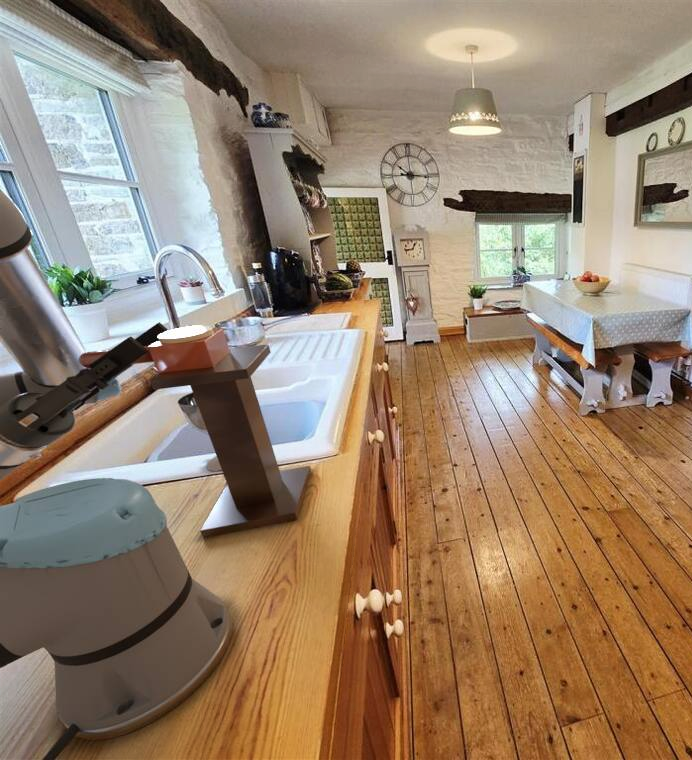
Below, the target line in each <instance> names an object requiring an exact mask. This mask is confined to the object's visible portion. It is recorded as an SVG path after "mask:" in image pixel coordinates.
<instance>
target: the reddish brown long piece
mask: <svg viewBox="0 0 692 760" xmlns="http://www.w3.org/2000/svg"><path fill="white" fill-rule="evenodd" d="M158 340H159V341H157V342H155V343H154V344H152V345H150V346H143V347H144V348H146V349H147V350H148V351H149V352H148V353H146V354H145V355H143V356H142V357H140V358H139V359H138V360H136V361H135V362H133V363H132V364H134V365H136V364H147V363H154V366H155V368H156V371H157V374H159V373H166V372H175V371H184V370H193V369H202V368H211V367H214V366H215V365H216V364H218V363H219V362H220V361H221V360H222V359H223V358H224V357H225V356H227V355H228V354H229V353H230V350H229V348H230V346H229V344H228V341H227V337H226V335H225V332H224V328H213V326H211V325H192V326H185V327H179V328H175V329H170V330H169V331H167V332H164V333H162V334H160V335H158ZM110 350H111V349H102V350H101V349H100V350H92V351H91V350H90V351H87V352H85V353H83V354H82V355H81V356H80V357H79V363H80V364H81V365H82V366H84V367H86V368H91V367H90V366H89V365H90V364H91V363H93V362H94V361H96V360H97V359H99V358H100V357H101V356H103V355H104V354H106V353H107V352H109V351H110Z"/></svg>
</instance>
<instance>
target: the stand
mask: <svg viewBox="0 0 692 760" xmlns="http://www.w3.org/2000/svg"><path fill="white" fill-rule="evenodd" d="M229 350H230V353H229V354H228V355H227V356H225V357H224V358H223V359H222V360H221V361H220V362H219V363H218V364H216V365H215V366H214V367H211V368H202V369H193V370H184V371H175V372H166V373H157V374H156V375H154V376H153V377H152V378H150V379H149V382H150V385H151V388H152V390H154V391H155V390H163V389H171V388H180V387H189V386H190V389H191V391H192V393H193V394H194V397H195V399H196V402H197V405H198V407H199V410H200V413H201V415H202V418H203V421H204V423H205V426H206V429H207V431H208V434H209V435H208V434H207V435H208V437H209V439H210V442H211V445H212V447H213V450H214V453H215V457H216V456H217V458H218V461H219V464H220V466H221V469H222V470H221V472H222V474H223V477H224V479H225V482H226V486H225V488H224V489H223V491H222V493H221V495H220V496H219V497H218V499H217V501H216V502H215V505H214V506H213V508H212V510H211V511H210V513H209V515H208V516H207V518H206V519H205V521H204V523H203V525H202V526H201V529H200V531H199V532H200V534H201V536H202V538H203V539H204V538H209V537H214V536H220V535H225V534H229V533H235V532H241V531H245V530H250V529H257V528H260V527H266V526H271V525H276V524H282V523H287V522H292V521H297V520H298V518H299V515H300V512H301V508H302V506H303V501H304V498H305V495H306V491H307V488H308V484H309V482H310V479H311V476H312V469H311V465H305V466H300V467H293V468H288V469H282V470H280V467H279V465H278V464H279V463H278V461H277V458H276V455H275V451H274V447H273V445H272V441H271V439H270V435H269V432H268V428H267V426H266V422H265V418H264V416H263V415H264V414H263V412H262V409H261V406H260V402H259V400H258V396H257V392H256V389H255V387H254V386H255V385H254V383H253V379H252V376H253V374H254V373H255V372H256V371H257V370H258V369H259V368H260V366H261V365H262V364H263V362H265V360H266V359H267V358H268V356H269V355H271V349H270V345H269V344H268V343H267V344H257V345H247V346H239V347H229Z"/></svg>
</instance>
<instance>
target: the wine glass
mask: <svg viewBox="0 0 692 760" xmlns="http://www.w3.org/2000/svg"><path fill="white" fill-rule="evenodd" d="M177 405H178V407H179V410H180V412H181V414H182V416H183V418H184V419H185V421H186V422H187V423H188V424H189V425H190V426H191V428H192V429H194V430H196V431H198V432H200V433H203V434H206V435H208V436H209V434H208V431H207V429H206V426H205V423H204V421H203V418H202V415H201V413H200V410H199V407H198V405H197V402H196V399H195V397H194V394H193V392H190V393H187V394H185V395H184V396H182V397H180V398H179V399H178V400H177ZM205 468H206V470H208V471H211V472H218V471H219V472H220V471H222V469H221V466H220V464H219V461H218V458H217V456H216V455H215V456H214V457H213V458H212V459H210V460H209V461H207V463H206V465H205Z"/></svg>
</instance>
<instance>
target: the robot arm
mask: <svg viewBox="0 0 692 760" xmlns="http://www.w3.org/2000/svg"><path fill="white" fill-rule="evenodd" d="M33 237H34V236H33V231H32V229H31V227H30V226H29V224H28V222H27V220H26V218H25V216H24V214H23V213H22V211H21V210H20V209H19V207H18V206H17V205H16V203H15V202H14V201H13V199H12V198H11V197H10V196H9V195H8V194H7V193H6V192H5V191H4V190H3V189H2V188H1V187H0V343H1V345H2V346H3V347H4V349H6V351H7V352H8V353H9V355H10V356H11V357H12V359H13V360H14V361H15V362H16V363H17V364H18V366H19V367H20V369H21V370H22V371H16V372H11V373H5V374H0V481H2V480H4V478H6V477H7V476H8V475H10V474H11V473H13V472H14V471H15V470H17V469H18V468H20V467H21V466H22V465H24V464H25V463H26V462H28V460H30V459H32V460H40V458H42V454H41V452H42V451H43V450H44V449H46V448H47V447H49V446H50V445H52V444H54V443H56V442H57V441H58V440H59V439H61V438H62V437H64V436H66V435H67V434H68V433H70V431H72V430H73V429H74V427H75V426H76V425H75V424H76V415H75V414H74V412H75V411H78V410H79V409H81V408H82V407H83V406H85V405H88V404H89V405H90V404H96V403H98V402H100V401H103V400H108V399H111V398H114V397H116V396H118V395H120V394H121V392H122V386H121V382H120V380H119V378H118V377H119V376H120V375H122V374H123V373H125V372H126V371H127V370H129V369H130V368H132V367H133V366H135V364H132V363H133V362H135V361H136V360H138V359H139V358H140V357H142V356H143V355H145V354H146V353H148V352H149V351H148V350H147V349H146V348H144V347H143V346H150V345H152V344H154V343H155V342H157V341H159V340H158V335H160V334H162V333H164V332H167V331H170V330H169V329H168V328H167V327H166V326H165V325H164V324H163V323H161V322H157V323H156V324H154V325H153V326H151V327H150V328H149V329H146V331H144V332H143V333H141V334H140V335H138V336H137V337H135V338H134V337H132V336H129V337H127V338H126V339H124V340H123V341H121V342H119V343H118V344H117V345H115V346H114V347H113V348H111V349H109V350H110V351H109V352H107V353H106V354H104V355H103V356H101V357H100V358H99V359H97V360H96V361H94V362H93V363H91V364H90V365H89V366H90V367H91V368H86V367H84V366H82V365H81V364H80V363H79V357H80V356H81V355H82V354H83V353H85V352H88V351H87V349H86V348H85V346H84V344H83V343H82V341H81V339H80V337H79V335H78V334H77V332H76V330H75V329H74V328H75V327H73V325H72V323H71V321H70V320H69V318H68V316H67V314H66V312H65V311H64V309H63V307H62V305H61V303H60V301H59V300H58V298H57V296H56V294H55V293H54V291H53V289H52V288H51V285H50V283H49V282H48V280H47V278H46V276H45V274H44V273H43V271H42V269H41V268H40V266H39V264H38V263H37V261H36V259H35V257H34V255H33V254H32V251H31V250H30V246H31V245H32V242H33ZM167 523H168V522H167V516H166V514H165V512H164V511H163V510H162V509H161V508H160V507H159V506H158V503H156V501H155V499H154V497H153V496H152V493H151V492H150V491H149V489H147V488H146V487H145V486H144V485H142V484H140V483H138V482H136V481H134V480H130V479H126V478H125V479H124V478H113V477H98V478H86V479H81V480H74V481H70V482H65V483H60V484H57V485H52V486H49V487H45V488H42V489H39V490H36V491H32V492H30V493H27V494H24V495H22V496H20V497H17V498H16V499H14V502H11V503H8V504H1V505H0V669H2V668H4V667H6V666H7V665H9V664H12V663H14V662H16V661H18V660H20V659H22V658H24V657H26V656H29V655H30V654H32V653H34V652H36V651H39V650H40V649H44V650H45V651H46V652H47V653H48V654H49V655H50V657H51V658H52V660H53V661H54V686H55V689H54V690H55V708H56V712H57V716H58V719H59V720H60V722H61V723H62V725H64V727H65V728H66V730H65V732H63V734H62V735H61V736H60V737H59V738H58V740H57V741H56V742H55V743H54V745H53V746H52V747H51V748H50V749H49V750H48V752H47V753H46V754H45V755H44V756H43V758H42V759H41V760H56V759H57V758H58V757H59V756H60V755H61V754H62V752H63V751H64V750H65V748H66V747H67V746H68V745H69V744H70V743H71V741H72V740H73V738H74V737H76V738H78V739H82V740H86V741H87V740H88V741H99V740H101V741H102V740H107V739H113V738H117V737H119V736H123V735H126V734H128V733H131V732H134V731H136V730H139V729H141V728H142V727H145V726H147V725H149V724H150V723H152V722H154V721H156V720H158V719H159V718H161V717H162V716H164V715H166V714H167V713H168V712H170V711H171V710H173V709H174V708H176V707H177V706H178V705H180V704H181V703H182V702H183V701H185V700H186V699H187V698H188V697H189V696H191V695H192V694H193V693H194V692H195V691H196V690H197V689H198V688H199V687H200V686H201V685H202V684H203V683H204V682H205V681H206V680H207V679H208V677H209V676H210V675H211V674H212V673H213V671H214V670H215V669H216V667H217V666H218V665H219V663H220V662H221V660H222V658H223V657H224V655H225V654H226V651H227V649H228V648H229V645H230V642H231V640H232V635H233V630H234V629H233V627H234V625H233V624H234V623H233V618H232V616H231V613H230V611H229V609H228V607H227V604H226V603H225V602H224V601H223V600H222V599H221V598H220V597H219V596H217V595H216V594H215V593H213V592H212V591H211V590H209V589H208V588H206V587H205V586H203V585H202V584H201V583H200V582H198V581H197V580H196V579H193V577H192V575H191V573H190V571H189V569H188V566H187V565H186V563H185V561H184V558H183V556H182V554H181V552H180V550H179V549H178V546H177V544H176V542H175V540H174V538H173V536H172V534H171V532H170V530H169V528H168V526H167Z"/></svg>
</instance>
